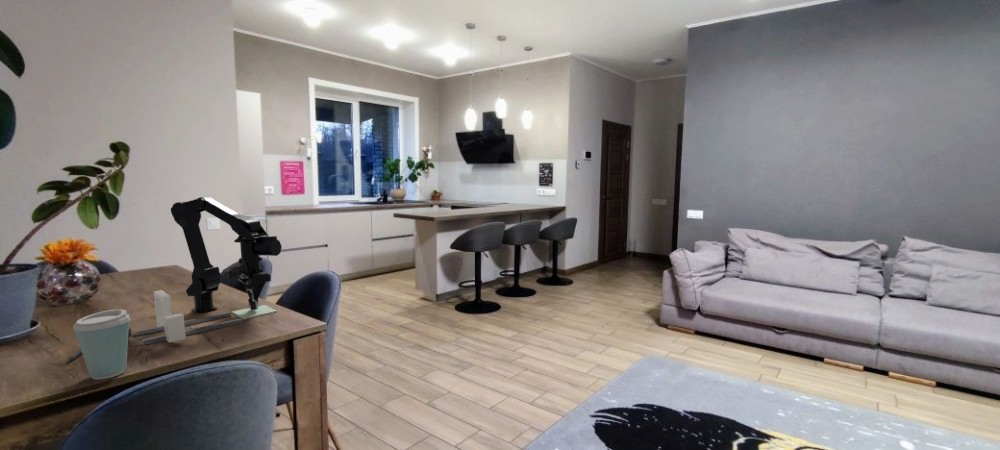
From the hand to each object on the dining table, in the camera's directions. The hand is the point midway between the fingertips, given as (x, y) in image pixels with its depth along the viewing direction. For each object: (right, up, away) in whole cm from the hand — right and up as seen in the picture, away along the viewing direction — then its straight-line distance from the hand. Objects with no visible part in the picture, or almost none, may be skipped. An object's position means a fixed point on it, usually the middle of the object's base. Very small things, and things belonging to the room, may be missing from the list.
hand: (253, 298), depth 161 cm
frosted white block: (-12, -6, -24) cm, 28 cm away
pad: (0, -5, +1) cm, 5 cm away
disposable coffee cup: (-9, -11, -49) cm, 51 cm away
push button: (0, -4, +1) cm, 4 cm away
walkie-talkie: (-26, -9, -31) cm, 42 cm away
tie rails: (-11, -7, -16) cm, 21 cm away
